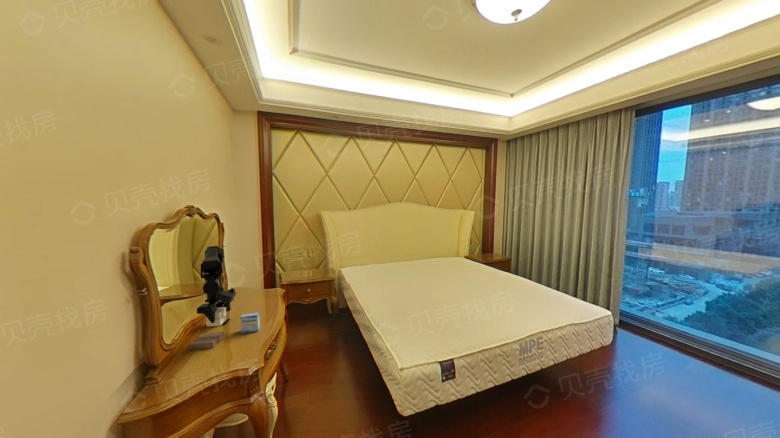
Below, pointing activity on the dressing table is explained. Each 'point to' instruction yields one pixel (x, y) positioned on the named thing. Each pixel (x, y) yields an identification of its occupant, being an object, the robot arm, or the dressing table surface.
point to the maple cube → (218, 317)
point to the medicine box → (250, 322)
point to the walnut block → (207, 340)
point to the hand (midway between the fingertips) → (216, 319)
